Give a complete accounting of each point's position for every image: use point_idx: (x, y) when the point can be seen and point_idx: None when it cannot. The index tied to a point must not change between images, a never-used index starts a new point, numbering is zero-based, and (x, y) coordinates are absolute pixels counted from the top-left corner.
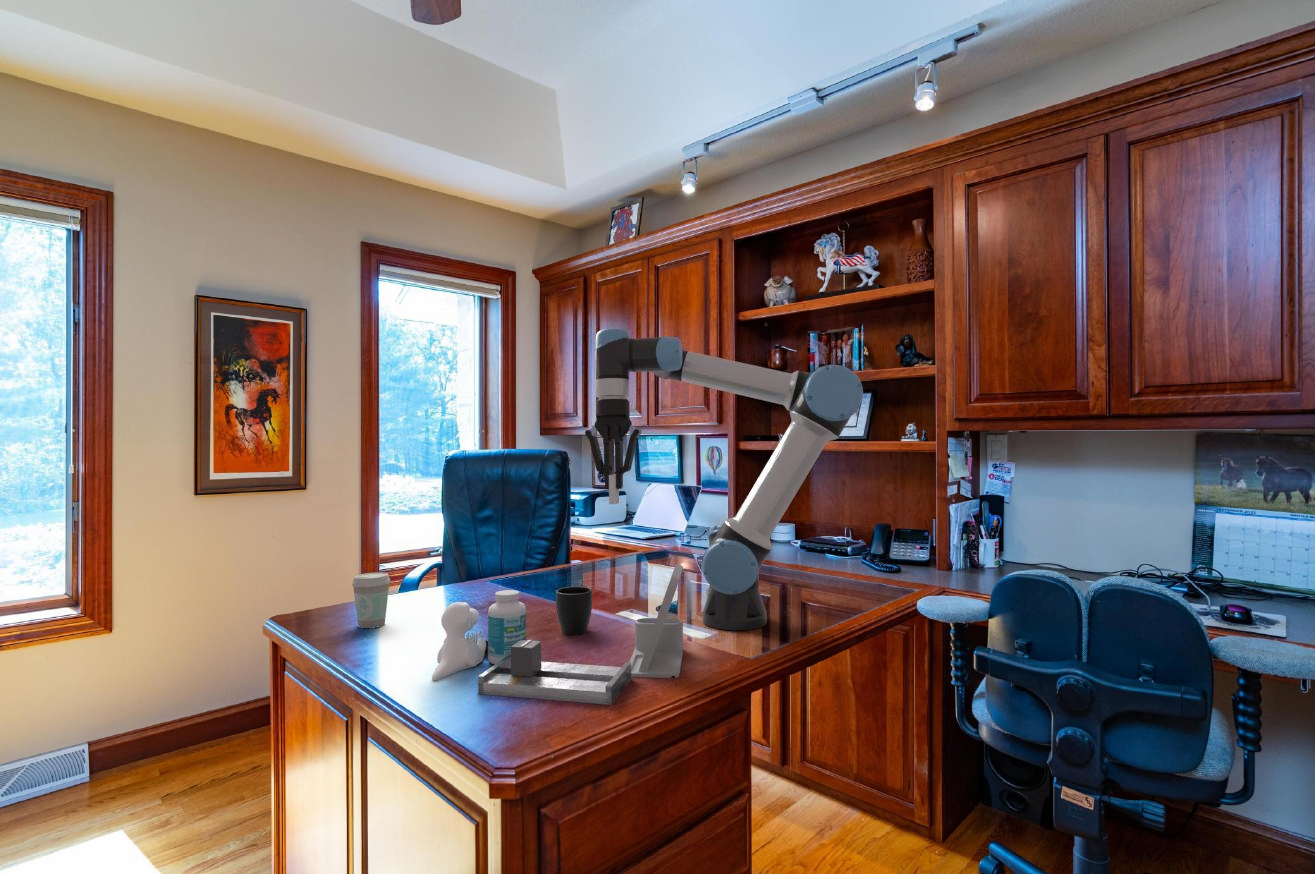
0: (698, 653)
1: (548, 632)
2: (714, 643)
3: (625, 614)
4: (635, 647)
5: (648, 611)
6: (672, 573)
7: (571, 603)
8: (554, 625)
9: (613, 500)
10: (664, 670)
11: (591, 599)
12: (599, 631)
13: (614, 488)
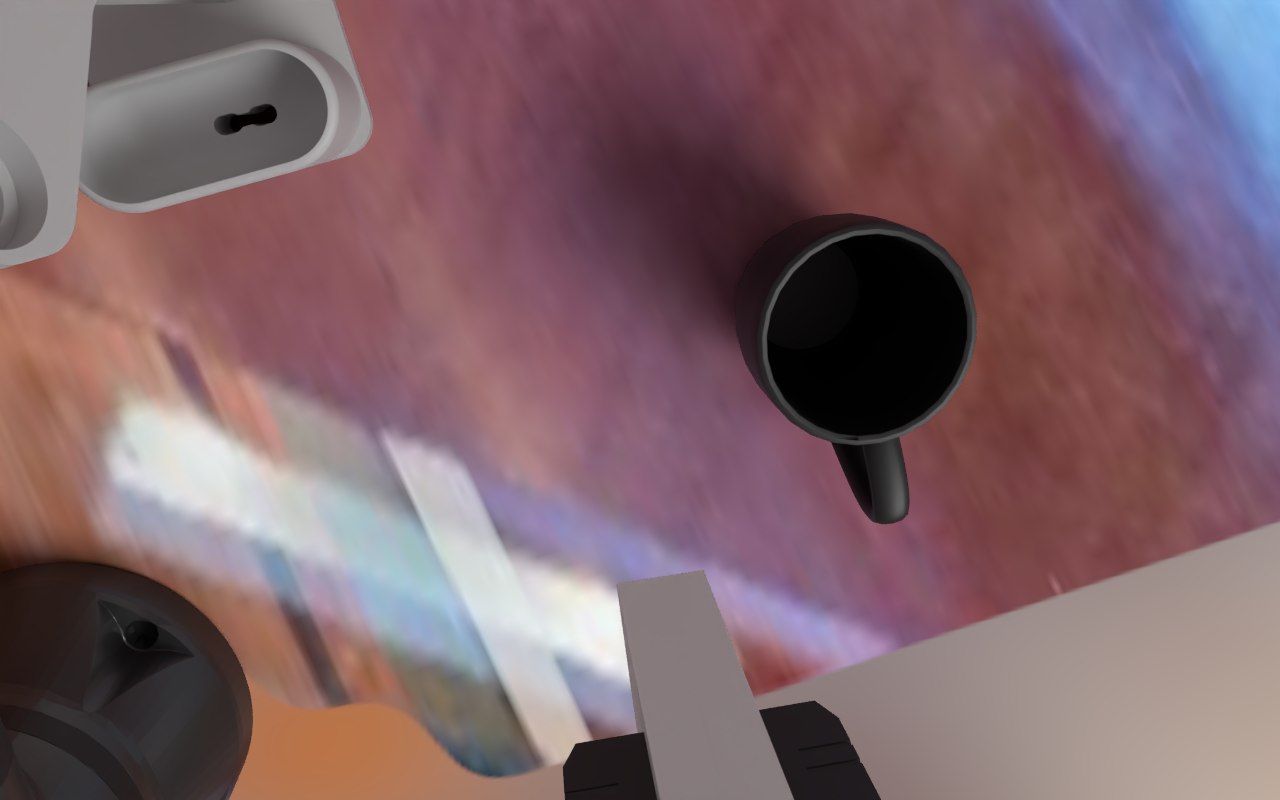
0: None
1: None
2: (31, 339)
3: None
4: (364, 101)
5: (589, 740)
6: (25, 242)
7: (821, 224)
8: None
9: (651, 603)
10: None
11: (745, 346)
12: (681, 340)
13: (653, 690)
